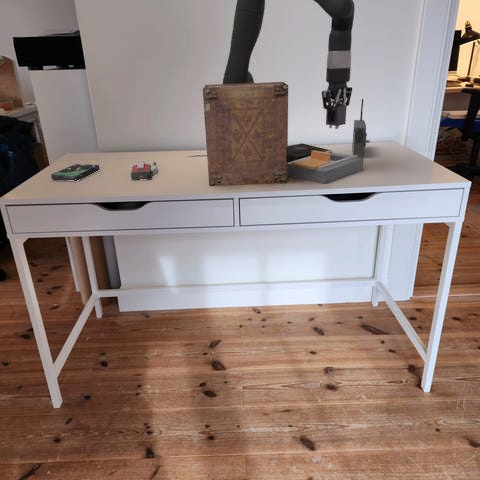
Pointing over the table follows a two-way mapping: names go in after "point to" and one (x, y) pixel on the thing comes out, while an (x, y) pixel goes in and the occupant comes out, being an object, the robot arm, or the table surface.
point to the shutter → (314, 160)
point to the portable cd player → (301, 151)
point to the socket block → (327, 168)
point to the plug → (338, 116)
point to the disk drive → (75, 172)
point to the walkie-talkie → (143, 171)
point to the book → (246, 133)
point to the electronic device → (359, 136)
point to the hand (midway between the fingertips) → (335, 120)
